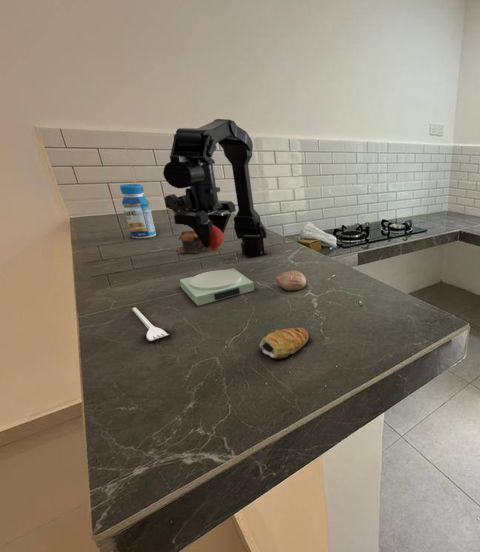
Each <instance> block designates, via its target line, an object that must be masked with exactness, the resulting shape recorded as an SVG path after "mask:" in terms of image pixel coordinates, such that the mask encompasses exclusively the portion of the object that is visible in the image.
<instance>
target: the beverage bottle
mask: <svg viewBox="0 0 480 552" xmlns="http://www.w3.org/2000/svg"><path fill="white" fill-rule="evenodd" d="M119 188H120V192H121V194H122V195H123V198H122V201H121V204H122V206H123V213H124V214H125V219H126V221H127V225H128V229H129V231H130V233H129V234H130V236H131V238H133V239H149V238H153V237H156V236H157V230H156V228H155V222H154V219H153V214H152V208H151V207H150V205H149V204H150V202H149V200H148V198H146V197H145V196H144V195H145V191H144V186H143V185H142V184H139V183H127V184H121V185H120V186H119Z"/></svg>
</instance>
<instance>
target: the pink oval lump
mask: <svg viewBox="0 0 480 552" xmlns="http://www.w3.org/2000/svg"><path fill="white" fill-rule="evenodd" d="M275 281H276V283H277V284H278V286H279V287H280V288H281V289H284V290H285V291H291V292H293V291H300V290H302V289H304V288H305V286H306V285H307V279H306V276H305V274H303V273H302V272H300V271H298V270H293V269H292V270H289V271H284V272H280V273H279V274H278V275H276V277H275Z"/></svg>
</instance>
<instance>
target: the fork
mask: <svg viewBox="0 0 480 552" xmlns="http://www.w3.org/2000/svg"><path fill="white" fill-rule="evenodd" d="M131 310H132V311H133V312H134V314H135V315H136V317H138V319H139V320H140V321H141V323H142V324H143V325H144V326H145V327H146V328H147V332H146V339H147V340H148V341H150V342H153V341H155V340H160V339H161V338H164V337H167V336H169V335H170V334H169V333H168V332H166V331H165V330H164V329H162V328H160V327H157V326H154V325H153V324H152V323H151V322H150V321H149V320H148V319H147V317H146V316H144V314H142V312H141V311H140V310H139V309H138V308H137V307H135V306H134V307H132V308H131Z"/></svg>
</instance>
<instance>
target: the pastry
mask: <svg viewBox="0 0 480 552" xmlns="http://www.w3.org/2000/svg"><path fill="white" fill-rule="evenodd" d="M309 336H310V335H309V332H308V331H307V330H306V329H305V328H303V327H289V328H282V329H275V330H274V332H269V333H267V335H266V336H264V337H262V340H261V341H260V343H259V349H260V350H261V351H262V353H263V354H264V355H267V356H269V357H270V358H272V359H284V358H287V357H289V356H290V355H294V354H295V353H296V352H298V351H299V350H300V349H301V348H303V347H305V345H306V343H307V342H308V341H309Z"/></svg>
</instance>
